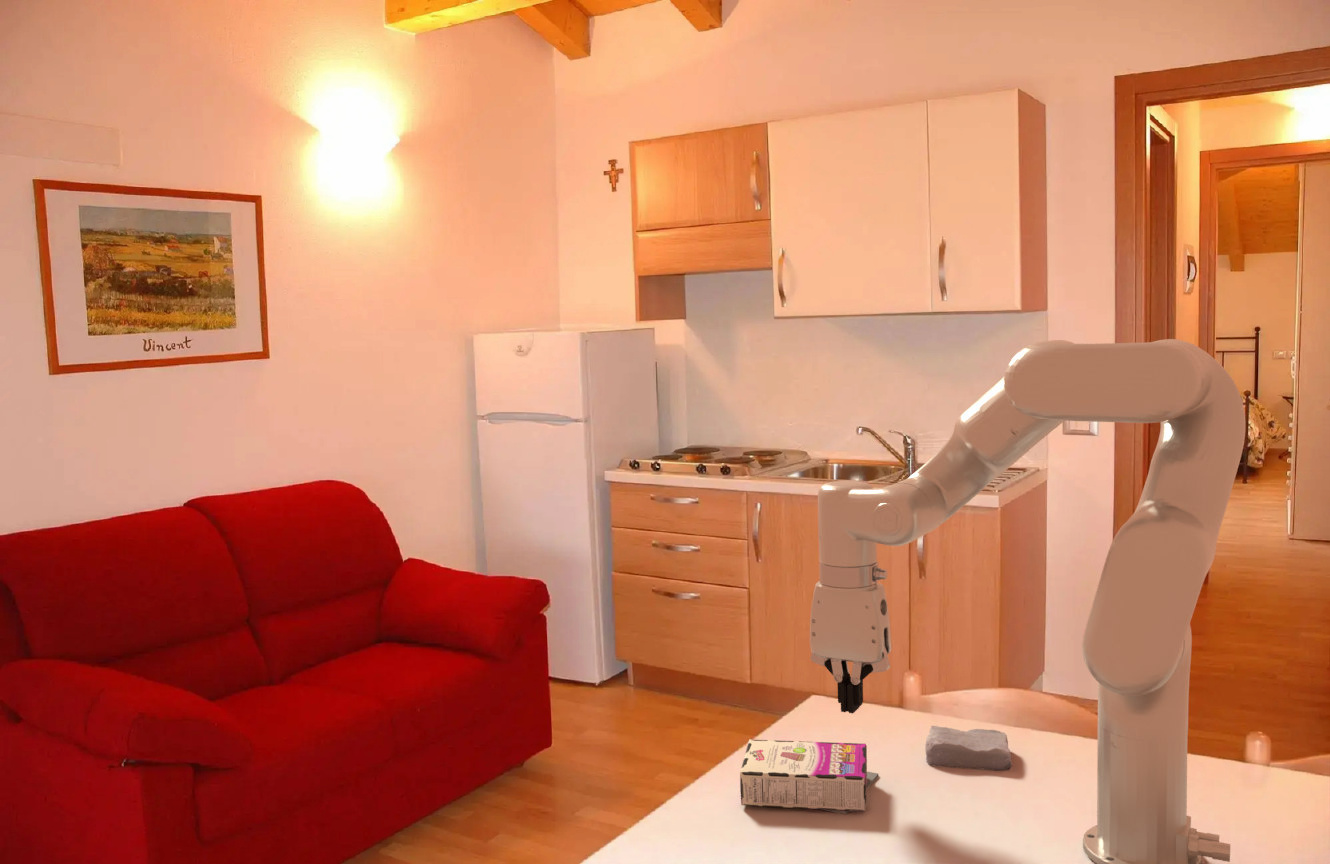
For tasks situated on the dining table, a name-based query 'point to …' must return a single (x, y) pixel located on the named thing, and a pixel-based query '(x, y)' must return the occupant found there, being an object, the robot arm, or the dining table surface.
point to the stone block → (968, 749)
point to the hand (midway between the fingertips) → (850, 709)
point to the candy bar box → (804, 775)
